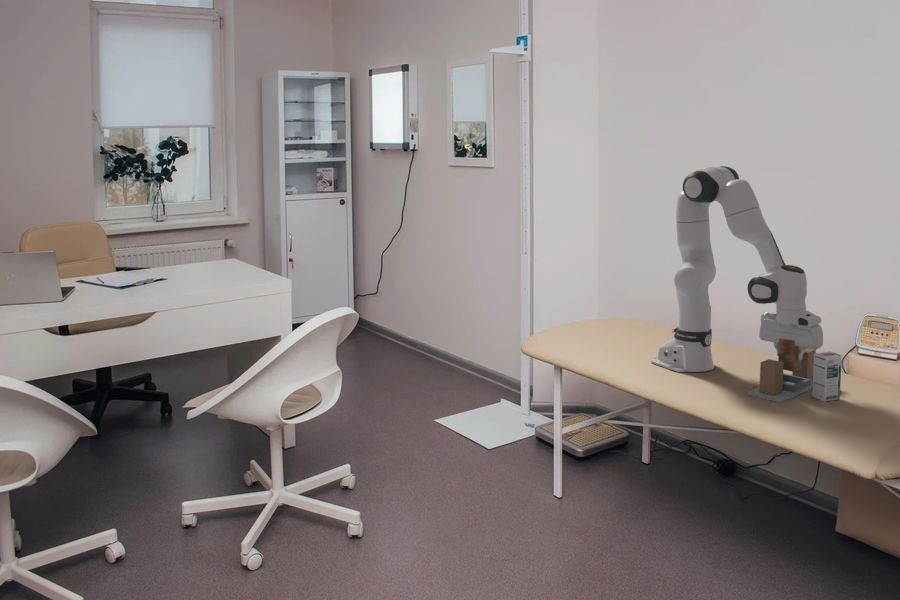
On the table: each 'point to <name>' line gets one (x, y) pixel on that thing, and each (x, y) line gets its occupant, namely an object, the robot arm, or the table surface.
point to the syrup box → (827, 376)
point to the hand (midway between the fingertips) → (789, 357)
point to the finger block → (789, 355)
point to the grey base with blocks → (784, 379)
